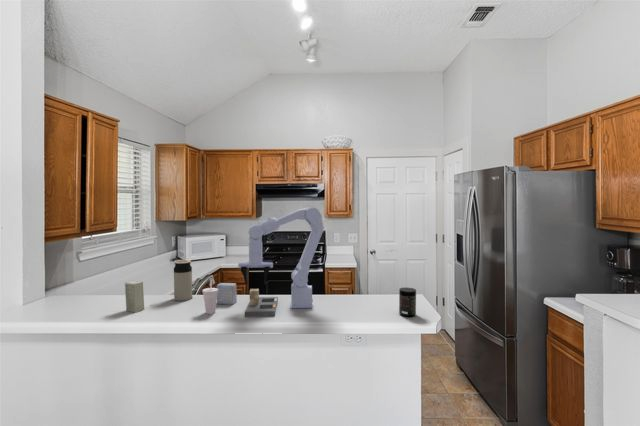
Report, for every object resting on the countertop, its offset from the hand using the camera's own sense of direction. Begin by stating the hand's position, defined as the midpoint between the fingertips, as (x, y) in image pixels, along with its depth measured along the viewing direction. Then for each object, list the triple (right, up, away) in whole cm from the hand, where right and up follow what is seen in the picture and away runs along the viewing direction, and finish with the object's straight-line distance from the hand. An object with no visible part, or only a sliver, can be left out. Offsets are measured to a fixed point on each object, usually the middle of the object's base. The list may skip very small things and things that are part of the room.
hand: (255, 284), depth 150 cm
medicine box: (-15, -10, +8) cm, 20 cm away
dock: (+3, -11, 0) cm, 11 cm away
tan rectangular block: (-1, -9, 0) cm, 9 cm away
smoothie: (-18, -11, -5) cm, 22 cm away
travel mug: (-37, -10, +15) cm, 41 cm away
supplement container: (+63, -11, -8) cm, 65 cm away
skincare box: (-51, -11, -2) cm, 52 cm away
